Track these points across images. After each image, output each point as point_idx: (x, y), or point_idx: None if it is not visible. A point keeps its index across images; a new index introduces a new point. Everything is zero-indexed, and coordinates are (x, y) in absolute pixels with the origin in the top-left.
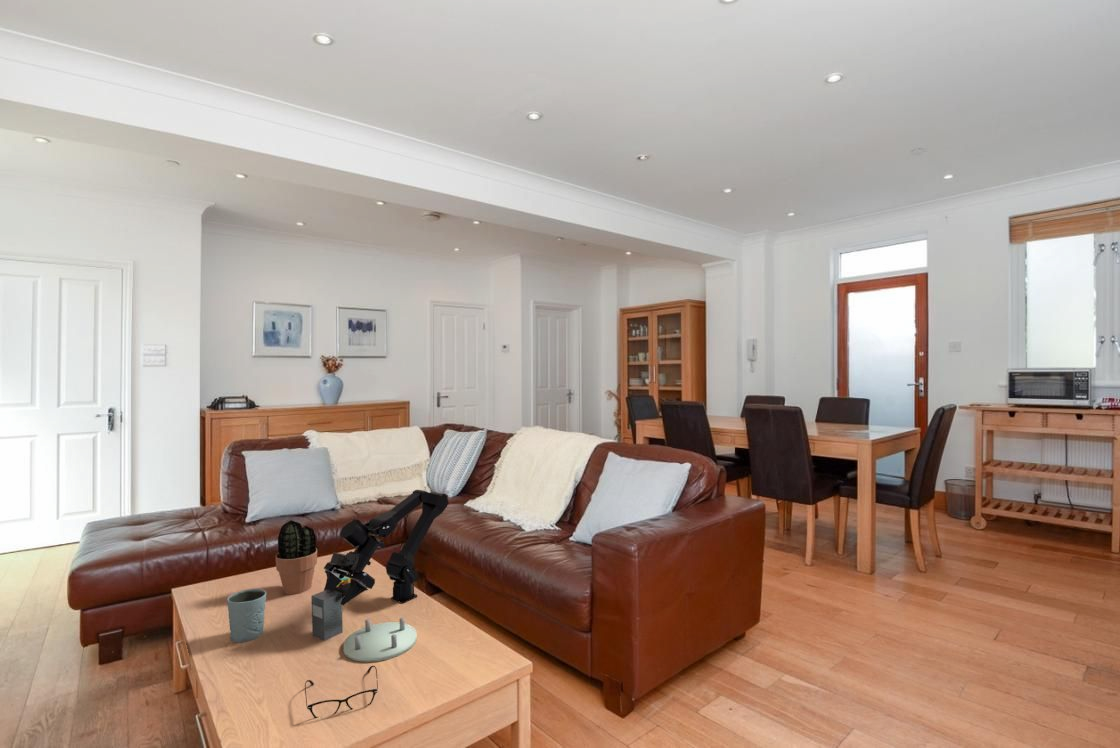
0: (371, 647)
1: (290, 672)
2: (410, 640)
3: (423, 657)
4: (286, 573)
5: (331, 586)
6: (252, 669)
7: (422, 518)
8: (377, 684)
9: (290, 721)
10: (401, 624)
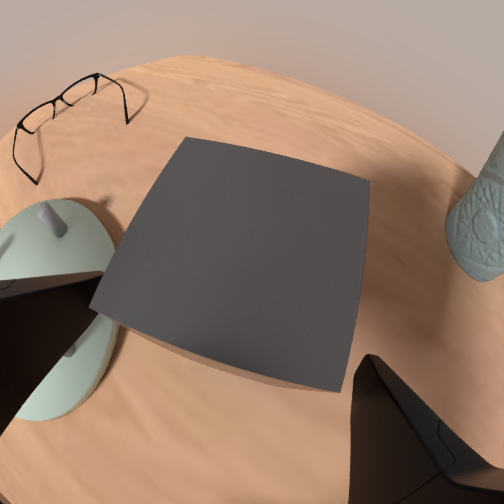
0: (31, 246)
1: (203, 130)
2: None
3: None
4: None
5: (378, 469)
6: (306, 125)
7: None
8: (15, 132)
9: (125, 80)
10: None
